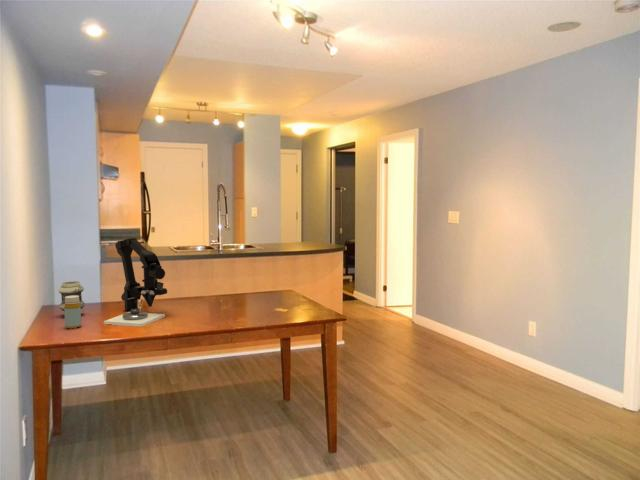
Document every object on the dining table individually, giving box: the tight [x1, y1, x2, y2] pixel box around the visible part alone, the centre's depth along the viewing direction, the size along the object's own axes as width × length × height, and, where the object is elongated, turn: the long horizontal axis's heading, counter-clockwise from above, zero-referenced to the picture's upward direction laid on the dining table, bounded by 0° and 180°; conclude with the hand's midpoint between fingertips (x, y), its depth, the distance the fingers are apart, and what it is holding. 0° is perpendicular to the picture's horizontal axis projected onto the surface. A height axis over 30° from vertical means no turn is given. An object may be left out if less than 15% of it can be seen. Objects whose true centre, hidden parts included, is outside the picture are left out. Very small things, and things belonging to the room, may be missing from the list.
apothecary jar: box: [58, 280, 86, 318], centre depth 262 cm, size 12×12×18 cm
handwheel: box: [122, 298, 149, 320], centre depth 255 cm, size 18×12×7 cm, turn 7°
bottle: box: [63, 295, 82, 329], centre depth 239 cm, size 7×7×15 cm
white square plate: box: [103, 312, 166, 328], centre depth 253 cm, size 21×21×2 cm
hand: (150, 306), depth 262 cm, fingers closed
